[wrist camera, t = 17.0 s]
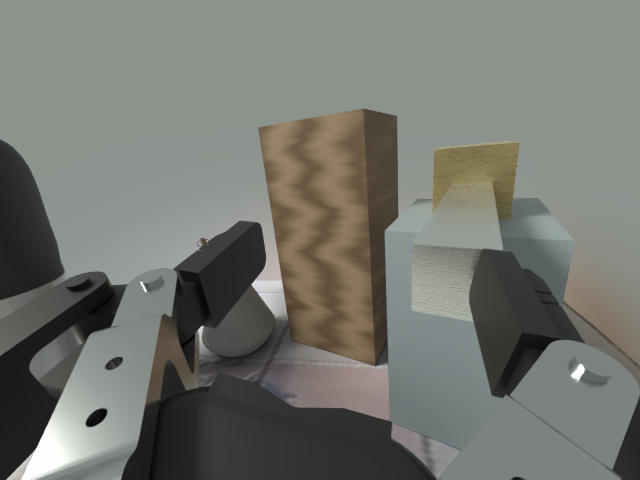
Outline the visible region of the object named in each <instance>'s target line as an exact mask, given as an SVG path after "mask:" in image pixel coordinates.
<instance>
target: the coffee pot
mask: <svg viewBox="0 0 640 480" xmlns="http://www.w3.org/2000/svg"><path fill="white" fill-rule="evenodd" d="M206 240H208V239H204V238H201V240H199V241H201V243H202V244H203V245H202V246H204V245H206V244H207V243H206ZM199 241H198V242H199ZM198 242H197V244H198ZM198 246H199V245H198ZM202 246H200V247H202ZM274 324H275V318H274V315H273V313H272V312H271V311H270V309H269V308H268V307H267V305H266V304H265V303H264V301H263V300H262V299H261V297H260V296H259V295H258V293H257V292H256V291H255V289H254V288H253V287H252V285H250V287H249V288H248V289H247V290H246V292H245V293H244V294H243V295H242V296H241V298H240V299H239V300H238V301H237V303H236V304H235V305H234V306H233V308H232V309H231V310H230V311H229V313H228V314H227V315H226V316H225V318H224V319H223V320H222V321H221V323H220V324H219V325H218V326H217V327H216V329H214V328H210V327H206V326H204V328H203V332H202V341H203V344H204V345H205V346H206V347H207V348H208V349H209V350H210V351H211V352H213V353H215V354H218V355H222V356H226V357H231V358H233V357H241V356H245V355H248V354H250V353H252V352H254V351H256V350H257V349H258V348H260V347H261V346H262V344H263V343H264V342H265V341H266V340H267V339H268V337H269V336H270V335H271V333H272V330H273V327H274Z"/></svg>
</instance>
